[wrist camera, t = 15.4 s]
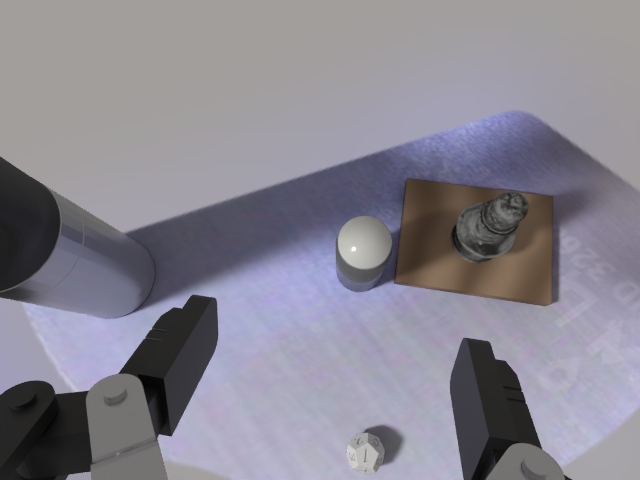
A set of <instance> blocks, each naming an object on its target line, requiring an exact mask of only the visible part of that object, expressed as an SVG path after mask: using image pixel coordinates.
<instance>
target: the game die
mask: <svg viewBox="0 0 640 480" xmlns="http://www.w3.org/2000/svg"><path fill="white" fill-rule="evenodd" d="M384 453H385V449H384V447H383V445H382V443H381V441H380V440H379V438H378V437H377V436H374V435H372V434H370V433H359V434H355V436H354V437H353V438H352V440H351V441H350V442H349V444H348V449H347V458H348V460H349V462H350V464H351V467H352V469H354V470H356V471H359V472H361V473H376V472H377V470H378V469H379V467H380V466H381V464H382V463H383V459H384Z"/></svg>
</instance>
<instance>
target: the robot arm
mask: <svg viewBox="0 0 640 480" xmlns="http://www.w3.org/2000/svg"><path fill="white" fill-rule="evenodd" d="M154 277H155V268H154V263H153V260H152V257H151V256H150V254H149V252H148V251H147V250H146V249H145V248H144V247H143V246H142V245H140V244H139V243H137V242H136V241H134V240H133V239H131V238H129V237H128V236H126V235H125V234H123V233H122V232H120V231H118V230H117V229H115V228H114V227H112V226H110V225H109V224H107V223H105V222H104V221H102V220H101V219H99V218H97V217H96V216H94V215H92V214H91V213H89V212H87V211H86V210H84V209H83V208H81V207H79V206H78V205H76V204H75V203H73V202H71V201H70V200H68V199H66V198H64V197H63V196H61V195H60V194H58V193H56V192H55V191H53V190H51V189H50V188H48V187H47V186H45V185H43V184H42V183H40V182H38V181H37V180H35V179H33V178H32V177H30V176H28V175H27V174H25V173H24V172H22V171H21V170H19V169H18V168H16V167H15V166H13V165H12V164H11V163H9V162H7V161H6V160H5V159H3V158H2V157H0V298H5V299H11V300H16V301H21V302H26V303H31V304H36V305H41V306H45V307H50V308H55V309H60V310H65V311H70V312H75V313H79V314H84V315H89V316H94V317H100V318H105V319H110V318H118V317H122V316H125V315H127V314H129V313H131V312H133V311H134V310H135V309H137V308H138V307H139V306H140V305H141V304H142V303H143V302H144V301H145V300H146V298H147V296H148V295H149V293H150V291H151V289H152V286H153V283H154ZM217 341H218V317H217V301H216V299H215V298H212V297H206V296H199V295H192V296H191V297H190V298H189V299H188V301H187V302H186V304H185V305H184V307H183V308H182V309H181V308H175V307H174V308H172V309H171V310H169V311H168V312H166V313H165V314H163V315H162V316H161V317H160V318H159V319H158V321H157V322H156V323H155V325H154V326H153V327H152V330H150V332H149V333H148V334H147V336H146V338H145V339H144V340H143V341H142V342H141V344H140V345H139V346H138V348H137V349H136V351H135V352H134V353H133V355H132V356H131V357H130V359H129V360H128V361H127V363H126V364H125V365H124V367H123V368H122V370H121V371H120V372H119V373H118V374H115V375H111V376H108V377H106V378H104V379H102V380H100V381H99V382H97V383H96V384H95V385H94V386H93V387H92V388H91V389H90V390H89V391H83V392H74V393H64V394H55V391H54V389H53V387H52V386H51V385H50V384H49V383H47V382H44V381H28V382H24V383H21V384H18V385H16V386H14V387H12V388H10V389H8V390H6V391H5V392H4V393H3V394H1V395H0V480H66V478H67V476H68V475H69V474H75V473H83V472H90V471H91V478H92V480H168V478H167V474H166V471H165V466H164V462H163V458H162V455H161V451H160V447H159V443H158V440H157V437H158V435H159V434H161V435H167V436H172V435H173V433H174V431H175V429H176V427H177V425H178V423H179V421H180V419H181V417H182V415H183V413H184V411H185V409H186V407H187V405H188V403H189V401H190V399H191V397H192V395H193V393H194V391H195V389H196V387H197V385H198V383H199V381H200V379H201V377H202V375H203V373H204V371H205V369H206V367H207V365H208V363H209V361H210V359H211V358H212V356H213V354H214V351H215V349H216V345H217ZM521 390H522V389H521V386H520V383H519V380H518V377H517V374H516V373H515V372H514V371H513V370H512V368H511V367H510V366H509V365H508V364H507V362H506V361H503V360H496V359H495V357H494V354H493V350H492V347H491V344H490V342H488V341H483V340H476V339H470V338H463V340H462V342H461V345H460V348H459V351H458V354H457V358H456V361H455V364H454V367H453V370H452V374H451V380H450V394H451V400H452V407H453V413H454V420H455V426H456V433H457V439H458V445H459V452H460V458H461V465H462V471H463V478H464V480H572V479H570V478H568V477H567V476H565V475H564V474H563V471H562V470H561V468H560V466H559V465H558V463H557V462H556V461H555V460H554V459H553V458H552V457H551V456H550V455H549V454H548V453H546V452H545V451H544V450H542V447H541V444H540V441H539V439H538V436H537V433H536V430H535V427H534V424H533V421H532V418H531V415H530V412H529V409H528V406H527V404H526V403H525V402H526V401H525V398H524V395H523V392H521Z"/></svg>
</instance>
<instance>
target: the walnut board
mask: <svg viewBox="0 0 640 480" xmlns="http://www.w3.org/2000/svg"><path fill="white" fill-rule="evenodd" d="M502 192H505V190H497V189H489V188H481V187H474V186H466V185H458V184H450V183H442V182H434V181H426V180H418V179H411V178H407V181H406V183H405V192H404V201H403V210H402V218H401V227H400V236H399V245H398V254H397V262H396V271H395V280H394V284H399V285H406V286H413V287H419V288H426V289H433V290H440V291H446V292H453V293H460V294H467V295H474V296H480V297H487V298H494V299H501V300H507V301H514V302H521V303H528V304H534V305H541V306H547V305H550V304H551V298H552V219H553V197H552V196H544V195H537V194H529V193H521V192H519V193H521V194H522V195H523V196H524V197H525V198H526V199H527V201H528V204H529V210H528V213H527V215H526V217H525V218H524V219H522V220H521V221H520V223H519V226H518V228H517V229H516V238H515V241H514V244H513V245H512V247H511V249H510V250H508V251H507V252H506V253H505V254H503V255H501V256H499V257H495V258H492V259H491V260H489V261H487V262H484V263H471V262H468V261H465V260H464V259H462V258H461V257H460V256H459V255H458V254H457V253H456V252H455V250H454V249H453V247H452V243H451V233H452V229H453V228H454V226H455V225H456V223H457V221H458V217H459V216H460V214H461V213H462V211H463V210H465V209H466V208H467V207H468V206H470V205H473V204H475V203H481V202H487V201H489V200H492V199H495V198H496V197H497V196H498V195H499V194H500V193H502Z"/></svg>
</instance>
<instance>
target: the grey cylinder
mask: <svg viewBox="0 0 640 480" xmlns="http://www.w3.org/2000/svg"><path fill="white" fill-rule="evenodd" d="M391 253H392V238H391V234H390V231H389V229H388V228H387V226H386V225H385V224H384V223H383V222H382V221H380V220H379V219H377V218H374V217H371V216H358V217H355V218H352V219H351V220H349V221H348V222H346V223H345V224H344V226H343V227H342V228H341V230H340V232H339V234H338V236H337V239H336V272H337V276H338V279H339V281H340V282H341V284H342V285H343V286H344V287H346V288H347V289H349V290H351V291H355V292H364V291H368V290H370V289H372V288H373V287H374V286H375V285H376V284H377V283H378V281H379V280H380V277H381V275H382V273H383V271H384V269H385V267H386V265H387V262H388V260H389V258H390V256H391Z"/></svg>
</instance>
